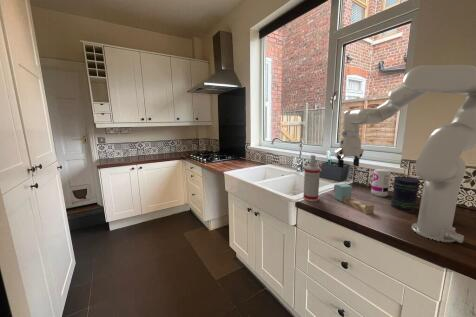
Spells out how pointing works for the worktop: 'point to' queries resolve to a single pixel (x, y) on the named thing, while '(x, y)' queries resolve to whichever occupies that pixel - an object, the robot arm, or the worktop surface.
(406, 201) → the storage jar
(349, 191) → the block
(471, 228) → the worktop surface
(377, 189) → the supplement can
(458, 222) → the worktop surface
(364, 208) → the rail
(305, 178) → the spray bottle
